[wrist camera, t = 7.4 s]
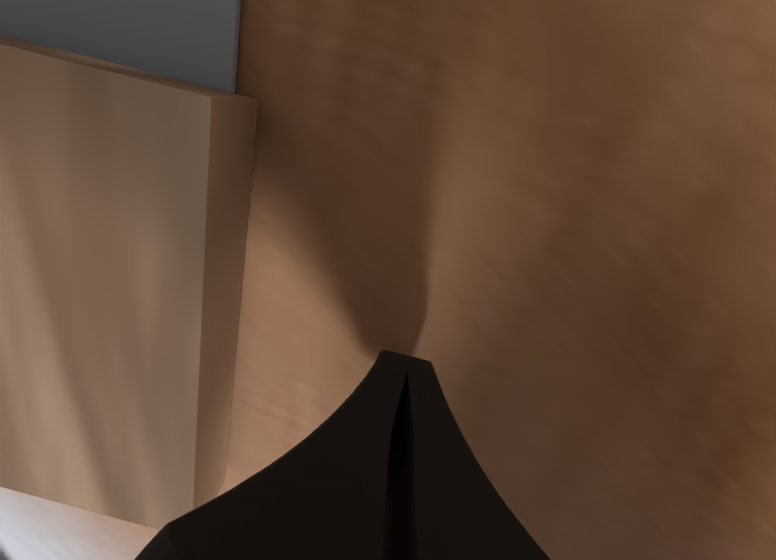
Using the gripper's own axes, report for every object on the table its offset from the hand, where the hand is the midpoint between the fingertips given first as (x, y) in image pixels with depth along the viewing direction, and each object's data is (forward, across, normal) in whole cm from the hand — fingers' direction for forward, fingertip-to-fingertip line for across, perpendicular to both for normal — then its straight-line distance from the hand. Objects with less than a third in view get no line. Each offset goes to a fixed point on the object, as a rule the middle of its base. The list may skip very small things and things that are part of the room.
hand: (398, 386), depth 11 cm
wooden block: (0, +5, 0) cm, 5 cm away
